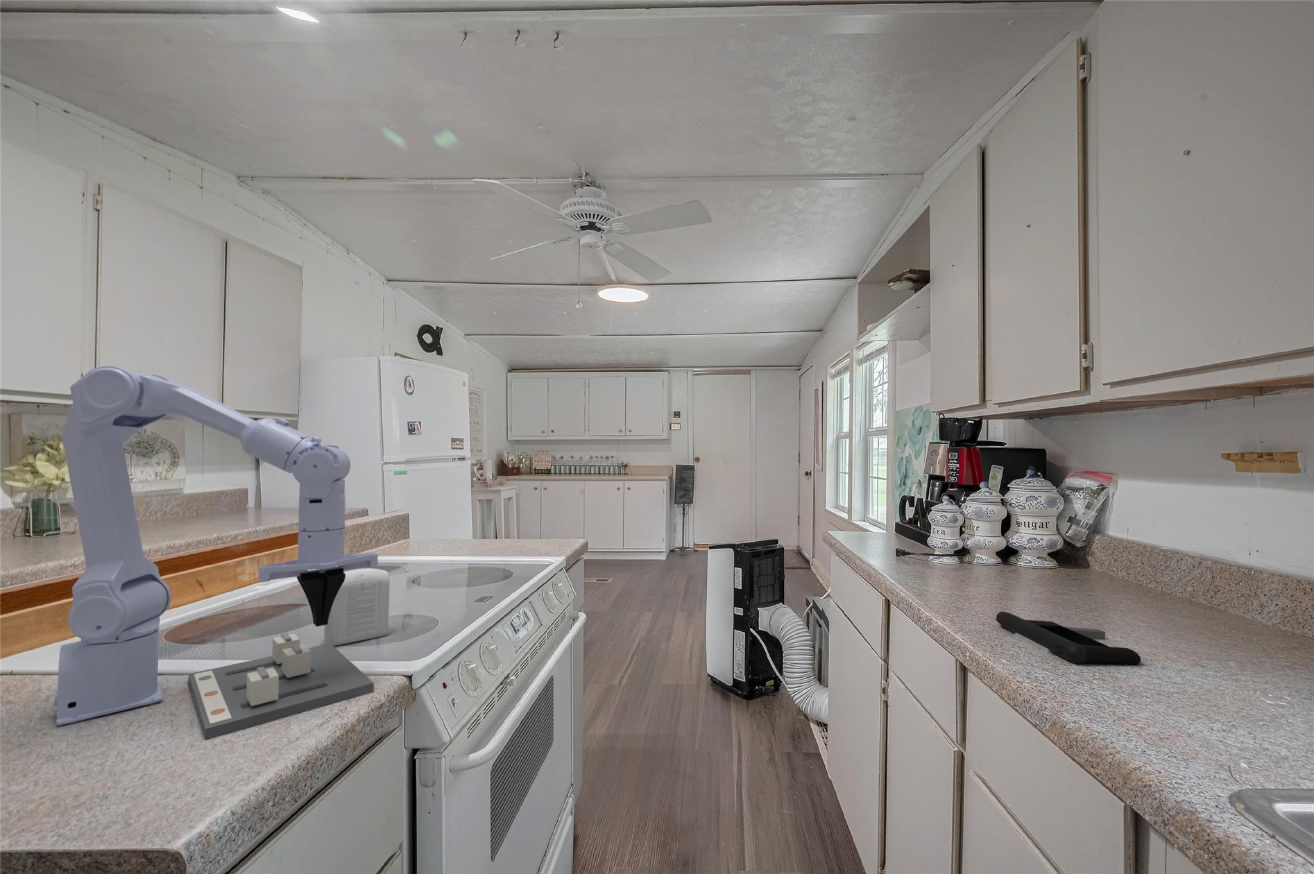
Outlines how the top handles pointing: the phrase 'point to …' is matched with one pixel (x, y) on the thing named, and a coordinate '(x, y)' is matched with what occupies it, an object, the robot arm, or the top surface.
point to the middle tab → (296, 660)
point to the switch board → (325, 684)
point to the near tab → (262, 686)
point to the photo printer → (359, 607)
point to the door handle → (1067, 641)
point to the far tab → (283, 645)
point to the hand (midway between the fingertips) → (320, 624)
